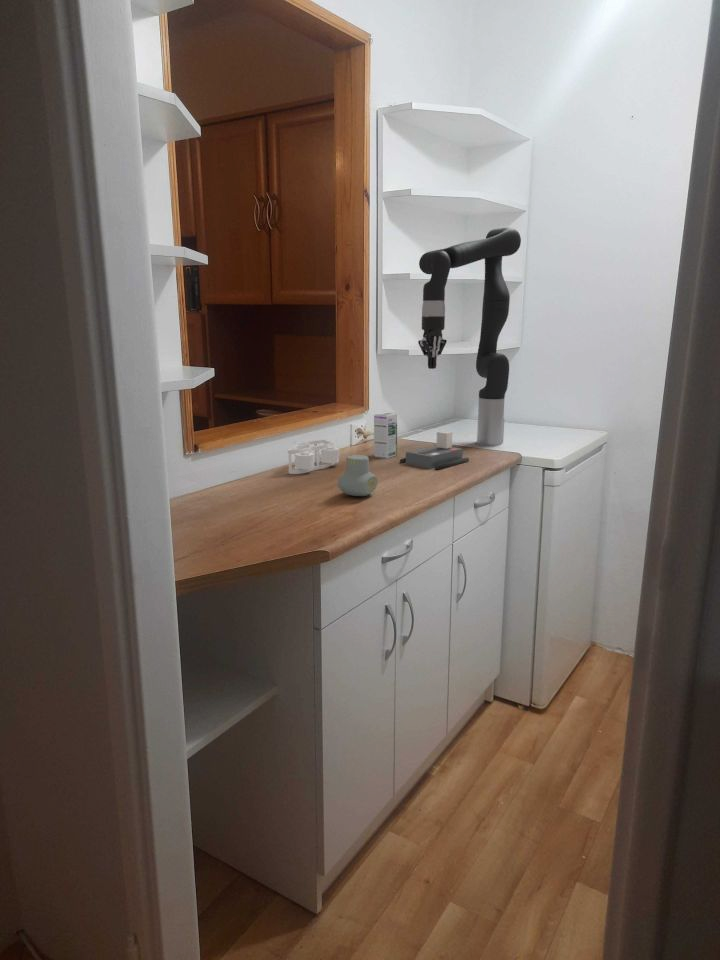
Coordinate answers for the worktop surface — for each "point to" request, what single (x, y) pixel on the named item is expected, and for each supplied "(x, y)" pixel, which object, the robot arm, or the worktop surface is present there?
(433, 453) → the breaker panel
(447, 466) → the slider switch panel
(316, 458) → the skeletal toy car
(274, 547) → the worktop surface
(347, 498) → the worktop surface
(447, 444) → the handle
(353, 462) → the air freshener
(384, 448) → the syrup box
